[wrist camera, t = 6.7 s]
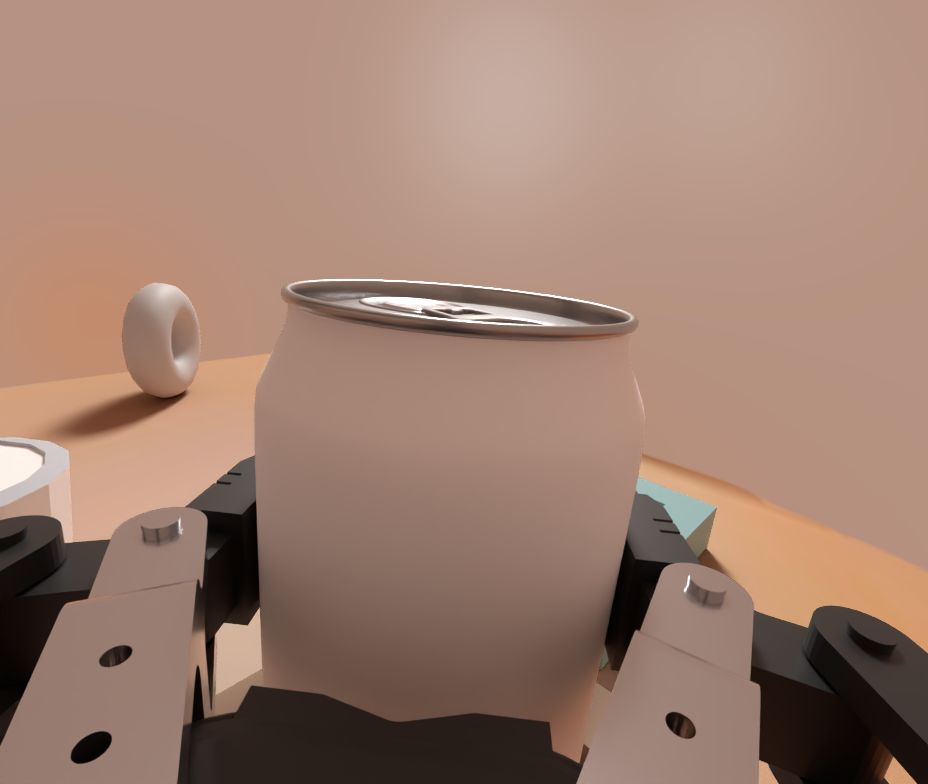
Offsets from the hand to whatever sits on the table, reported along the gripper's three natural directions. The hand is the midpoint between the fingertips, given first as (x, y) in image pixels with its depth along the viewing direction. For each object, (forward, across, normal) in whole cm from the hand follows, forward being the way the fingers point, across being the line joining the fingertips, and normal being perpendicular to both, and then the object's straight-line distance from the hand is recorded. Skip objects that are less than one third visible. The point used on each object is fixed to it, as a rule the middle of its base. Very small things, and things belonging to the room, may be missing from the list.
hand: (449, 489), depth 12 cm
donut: (+30, +28, +10) cm, 42 cm away
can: (-2, 0, +7) cm, 8 cm away
